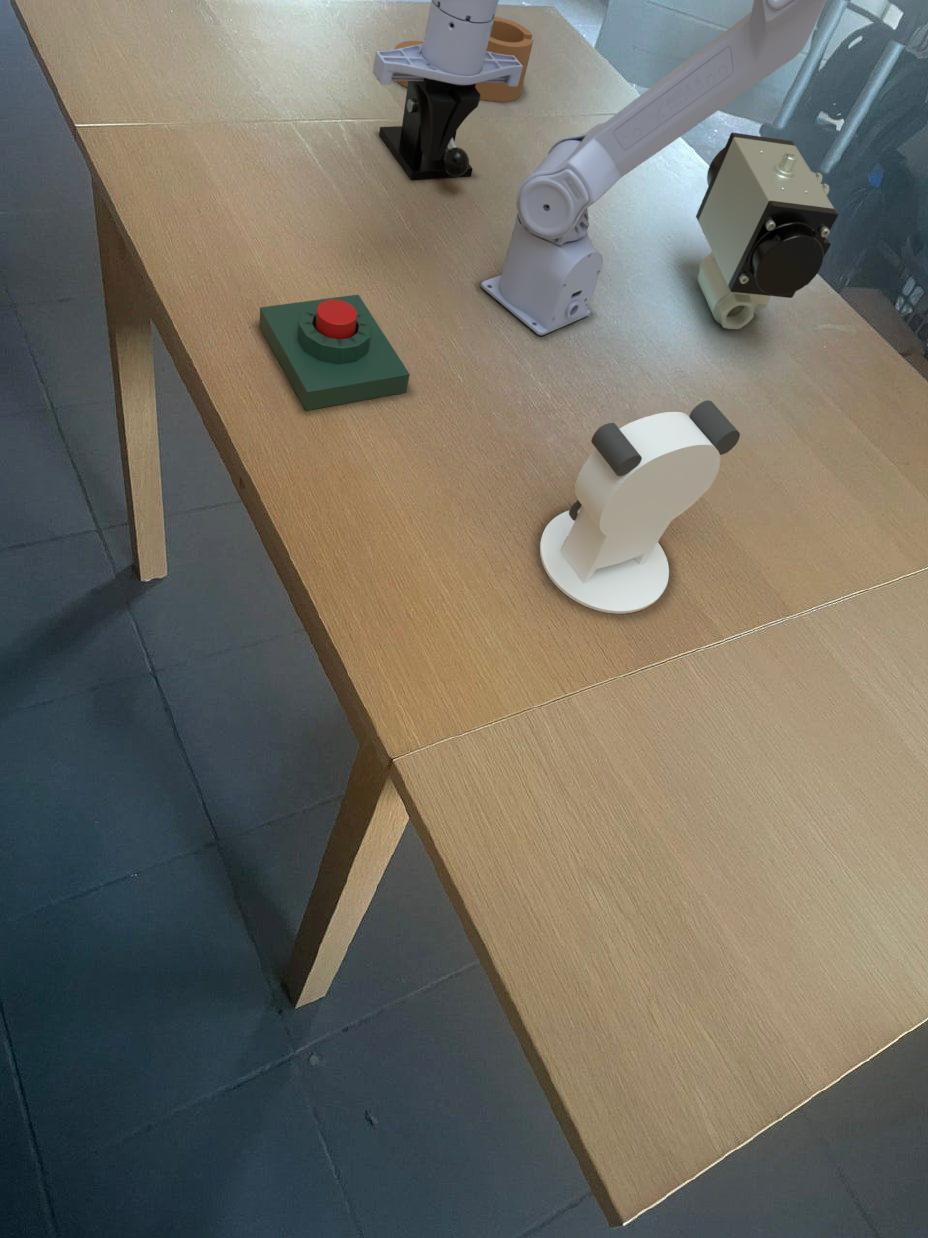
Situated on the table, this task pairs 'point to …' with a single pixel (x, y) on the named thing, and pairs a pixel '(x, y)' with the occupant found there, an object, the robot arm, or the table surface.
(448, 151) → the lever
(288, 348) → the button box
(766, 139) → the ball valve
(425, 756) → the table surface
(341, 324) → the button
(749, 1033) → the table surface
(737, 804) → the table surface
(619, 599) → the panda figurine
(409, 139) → the bracket
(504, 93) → the bracket
